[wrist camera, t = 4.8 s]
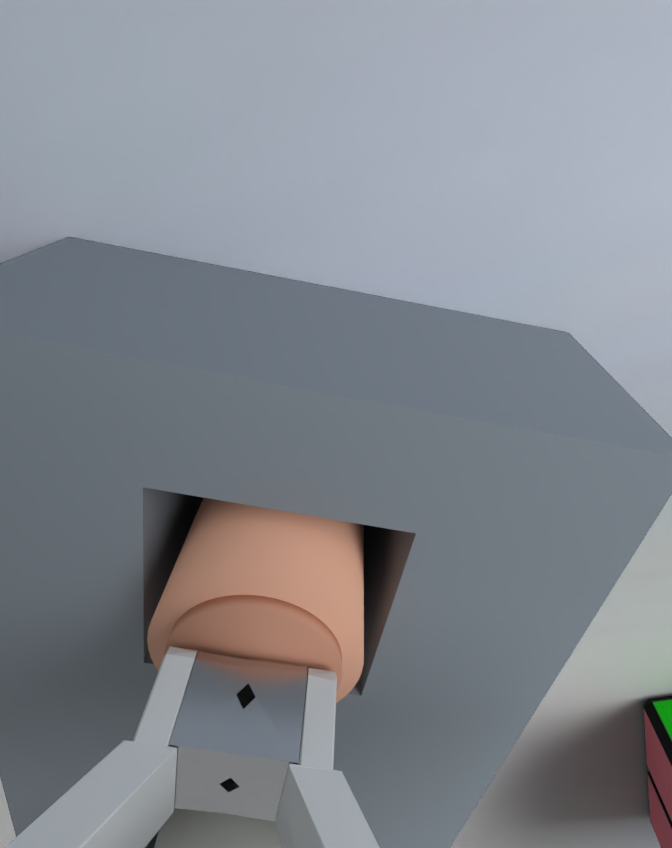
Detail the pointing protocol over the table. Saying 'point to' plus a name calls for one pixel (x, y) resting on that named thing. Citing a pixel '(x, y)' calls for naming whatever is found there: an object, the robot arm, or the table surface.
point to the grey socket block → (303, 506)
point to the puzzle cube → (659, 766)
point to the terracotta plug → (267, 591)
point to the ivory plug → (215, 831)
